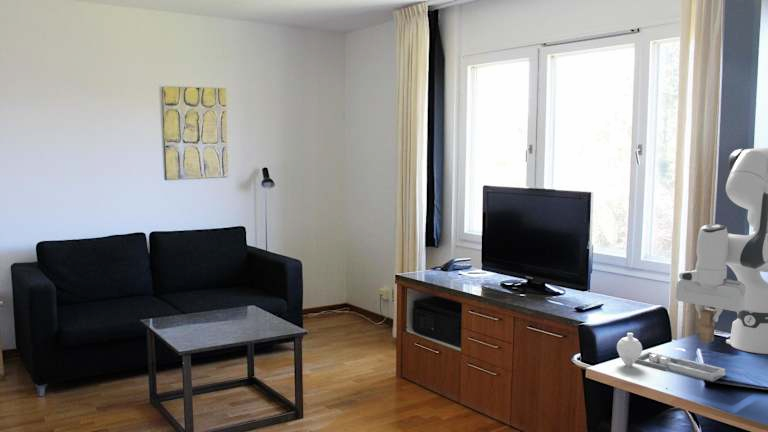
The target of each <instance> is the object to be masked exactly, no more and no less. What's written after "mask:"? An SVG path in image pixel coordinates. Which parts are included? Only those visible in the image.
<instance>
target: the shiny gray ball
mask: <svg viewBox="0 0 768 432" xmlns="http://www.w3.org/2000/svg"><path fill="white" fill-rule="evenodd" d="M660 355H661V354H659V355H658V353H655V354H649V357H648V362H652V363H656V364H659V357H660Z"/></svg>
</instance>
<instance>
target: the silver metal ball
mask: <svg viewBox="0 0 768 432" xmlns="http://www.w3.org/2000/svg"><path fill="white" fill-rule="evenodd" d="M664 356H665V355H663V356H661V357H659V363H658V364H659V365H663V366H667V364H668V363H671V362H670V360H671V359H670V358H669V357H670V356H667V357H664Z"/></svg>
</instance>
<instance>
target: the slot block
mask: <svg viewBox="0 0 768 432" xmlns="http://www.w3.org/2000/svg"><path fill="white" fill-rule="evenodd" d="M677 359H678V363H674V362H670V363H668V364H667V370H666V371H669V372H674V373H677V374H681V375H685V376H690V377H693V378H697V379H701V380H704V381H709V382H712V383H714V382H715V381H717V380H719V379H721V378H723V377H725V375H726V368H723V367H719V366H714V365H711V364H707V363H702V362H698V361H694V360H691V359H687V358H681V357H679V358H677Z"/></svg>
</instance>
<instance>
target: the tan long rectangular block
mask: <svg viewBox="0 0 768 432" xmlns="http://www.w3.org/2000/svg"><path fill="white" fill-rule="evenodd" d="M716 313H717V311H715V308H714V309H713V308H710V307H707V308H704V309H702V310H701V319H700V324H699V325H700V326H699V342H700V343H705V344H709V343H711V342H714V340H715V325H716V322H714V321H711V319H712V318H711V316H712V315H715V314H716Z"/></svg>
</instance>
